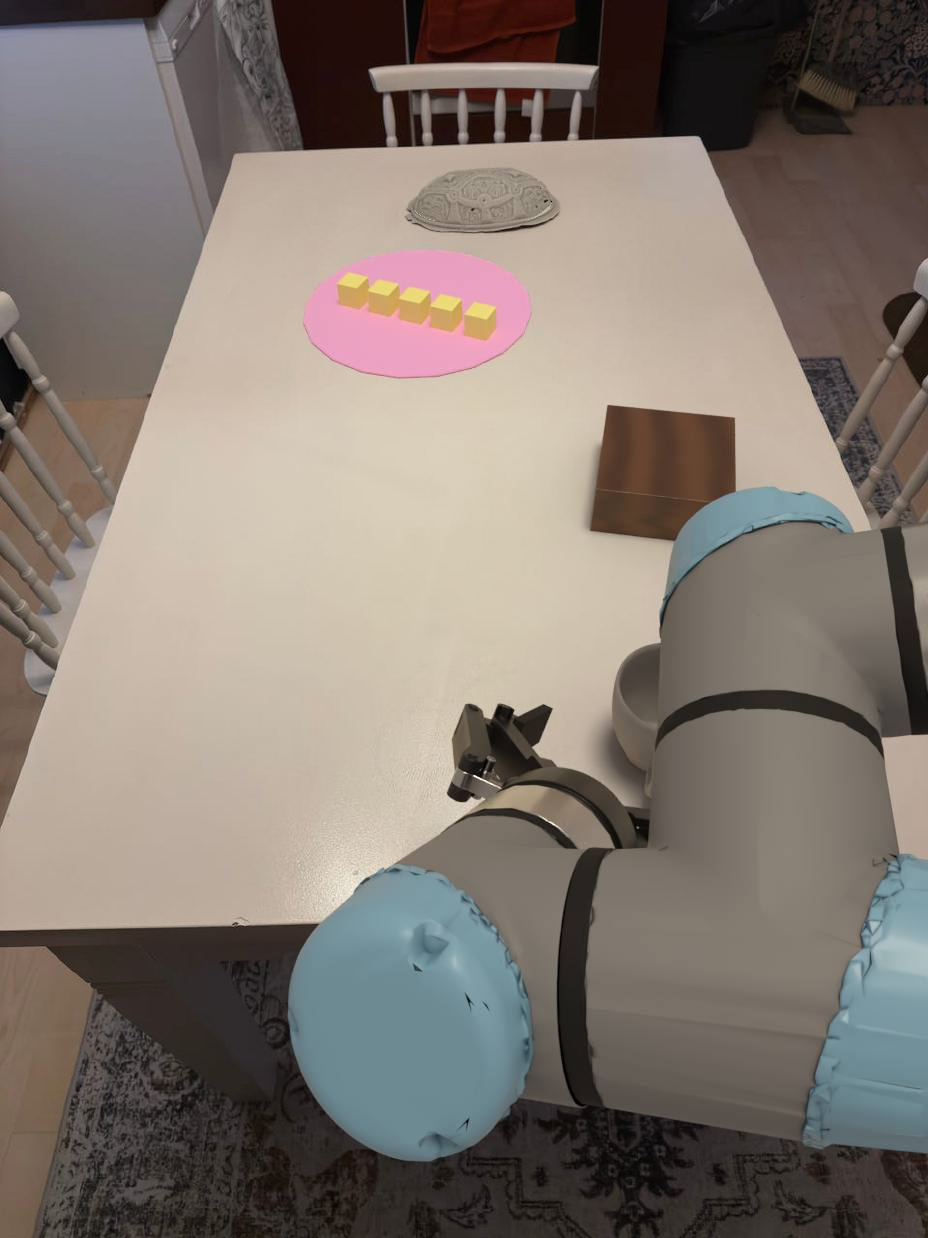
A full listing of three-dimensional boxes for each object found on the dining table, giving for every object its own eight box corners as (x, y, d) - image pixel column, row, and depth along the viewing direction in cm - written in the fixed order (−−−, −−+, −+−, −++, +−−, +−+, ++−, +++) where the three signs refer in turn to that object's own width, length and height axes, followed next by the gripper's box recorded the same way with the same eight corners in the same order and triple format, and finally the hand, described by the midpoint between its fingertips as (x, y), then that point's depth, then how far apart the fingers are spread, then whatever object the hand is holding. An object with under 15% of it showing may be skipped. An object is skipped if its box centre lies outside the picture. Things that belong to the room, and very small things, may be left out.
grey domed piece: (566, 225, 129) (566, 178, 124) (406, 240, 130) (400, 194, 125) (555, 189, 140) (555, 145, 135) (407, 203, 141) (402, 160, 136)
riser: (723, 459, 96) (735, 417, 92) (722, 546, 88) (736, 505, 83) (601, 446, 98) (607, 404, 94) (590, 530, 90) (595, 489, 85)
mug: (607, 696, 77) (620, 633, 69) (705, 712, 75) (729, 649, 68) (594, 816, 69) (607, 760, 62) (701, 835, 68) (728, 780, 61)
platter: (474, 402, 104) (473, 379, 101) (258, 344, 113) (253, 321, 110) (564, 276, 121) (566, 253, 119) (372, 234, 130) (370, 212, 128)
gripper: (292, 809, 42) (454, 735, 62) (779, 1097, 34) (787, 905, 53) (339, 674, 41) (490, 642, 60) (860, 940, 32) (837, 803, 52)
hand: (630, 766), depth 57 cm, fingers open, 13 cm apart
